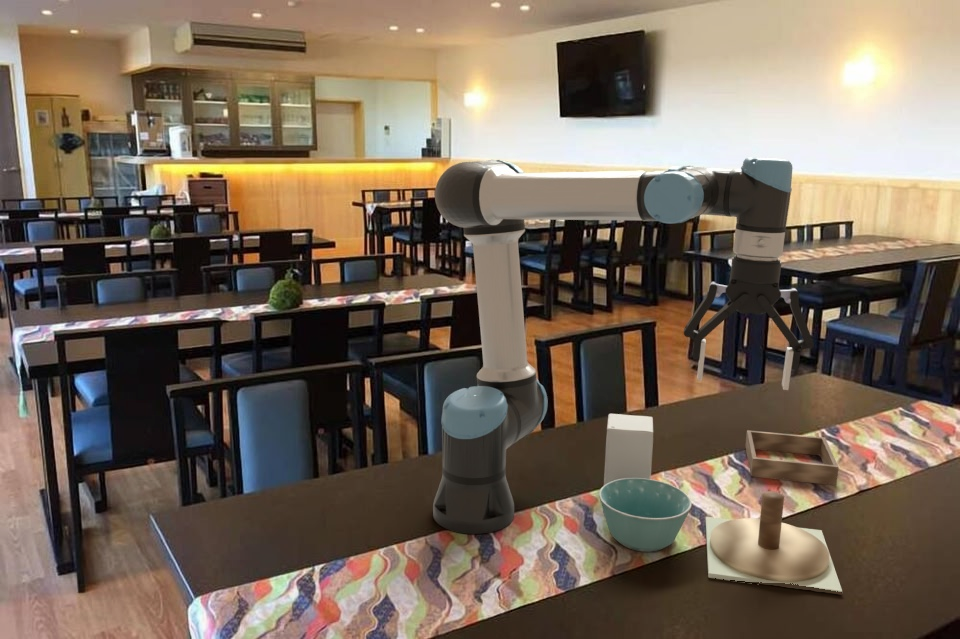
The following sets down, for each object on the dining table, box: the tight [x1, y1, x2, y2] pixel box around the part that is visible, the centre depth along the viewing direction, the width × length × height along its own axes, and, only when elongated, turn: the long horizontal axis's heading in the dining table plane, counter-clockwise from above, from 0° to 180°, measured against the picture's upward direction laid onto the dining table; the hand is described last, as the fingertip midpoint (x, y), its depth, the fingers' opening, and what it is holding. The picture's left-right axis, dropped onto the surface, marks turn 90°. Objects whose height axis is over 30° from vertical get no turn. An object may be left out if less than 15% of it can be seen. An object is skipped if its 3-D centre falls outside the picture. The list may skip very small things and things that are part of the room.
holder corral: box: [744, 429, 839, 486], centre depth 172 cm, size 17×17×4 cm
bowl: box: [598, 478, 692, 553], centre depth 140 cm, size 16×16×8 cm
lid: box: [710, 490, 830, 582], centre depth 134 cm, size 19×19×10 cm
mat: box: [705, 516, 843, 593], centre depth 136 cm, size 20×20×1 cm
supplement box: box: [603, 413, 654, 486], centre depth 157 cm, size 9×9×15 cm
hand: (741, 382), depth 132 cm, fingers open, 13 cm apart
